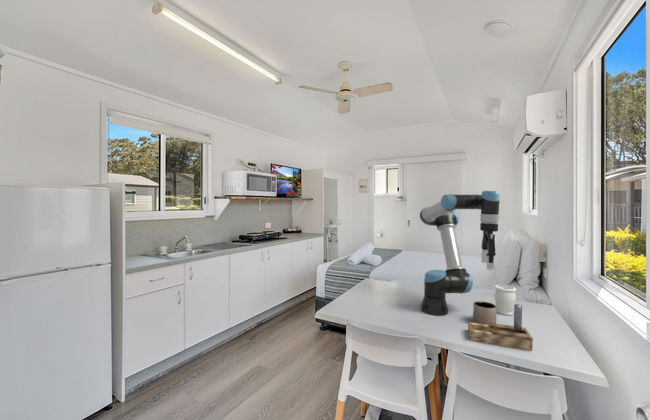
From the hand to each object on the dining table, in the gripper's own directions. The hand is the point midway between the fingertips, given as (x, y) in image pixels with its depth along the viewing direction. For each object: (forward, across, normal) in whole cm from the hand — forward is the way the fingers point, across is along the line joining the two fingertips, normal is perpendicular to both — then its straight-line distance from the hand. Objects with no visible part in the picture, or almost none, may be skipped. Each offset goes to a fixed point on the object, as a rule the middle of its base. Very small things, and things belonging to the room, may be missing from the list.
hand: (487, 265), depth 139 cm
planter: (+34, +12, -2) cm, 36 cm away
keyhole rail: (+33, -8, -4) cm, 34 cm away
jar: (+34, +31, -16) cm, 49 cm away
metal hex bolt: (+31, -8, -12) cm, 34 cm away
